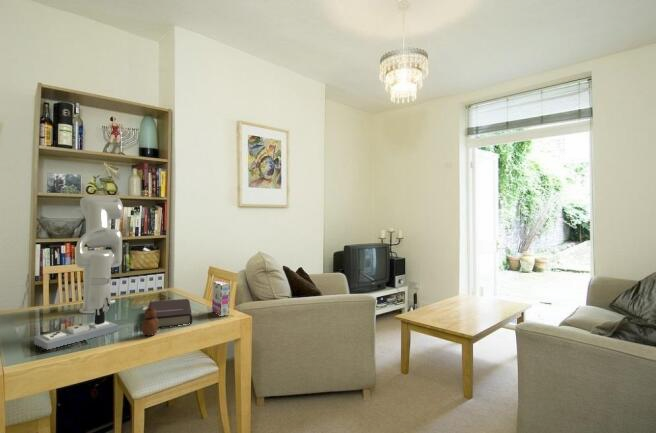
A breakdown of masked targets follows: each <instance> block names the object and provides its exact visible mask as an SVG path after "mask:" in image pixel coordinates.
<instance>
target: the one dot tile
mask: <svg viewBox="0 0 656 433" xmlns="http://www.w3.org/2000/svg"><path fill="white" fill-rule="evenodd" d="M91 323H92V322H91ZM107 325H110V323H108V322H104V323H101V324H95V323H92V324H89V326H90V327H93V328H99V327H103V326H107Z"/></svg>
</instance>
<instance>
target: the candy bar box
mask: <svg viewBox="0 0 656 433" xmlns="http://www.w3.org/2000/svg"><path fill="white" fill-rule="evenodd" d="M230 286H231V284H230V283H228V282H225V281H222V280H217V281H212V304H211V308H212V309H211V312H212V311H213V312H215V313H217V314H219V315H224V314H228V313H229V314H230V292H231V291H230V290H231V287H230ZM213 312H212V313H213ZM215 313H214V314H215Z"/></svg>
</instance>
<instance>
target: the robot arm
mask: <svg viewBox="0 0 656 433" xmlns="http://www.w3.org/2000/svg"><path fill="white" fill-rule="evenodd" d="M79 201H80V202H79V205H80V209H81V212H82V214H83V216H84V219H85V233H83V235H82V236H81V237H80V238H79V239H78V241H77V243H76V247H75V265H76V266H77V267H78V268H81V269H83V301H82V302H83V306H82V307H81V308H80V309H79V313H80V314H94V322H95V324H101V323H104V322H105V320H106V318H105V317H106V316H105V315H106V312H108V311H109V308H110V307H111V305H112V304H116V299H112V298H111V296H112V294H111V282H112V279H111V278H112V273H111V272H112V269H111V268H116V267H117V268H118V267H120V266H121V265H122V261H123V234H122V231H120V230H119V229H116V228H115V229H114V228H110V220H121V219H122V218H123V217H124V205H123V202H122V200H121V198H119V197H116V196H115V197H114V196H98V195H97V196H95V195H94V196H93V195H90V196H83V197H81V198H80V200H79ZM85 246H87V247H88V248H89V247H90V248H111V249H91V250H84V248H85Z"/></svg>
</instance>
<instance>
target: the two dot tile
mask: <svg viewBox="0 0 656 433" xmlns="http://www.w3.org/2000/svg"><path fill="white" fill-rule="evenodd" d="M86 324H87V323H78V324H75V325H71V326H70V325H69V326H67V328H68V330H67V332H69V333H71V334H76V333H80V332H84V331H88V330H89V326H88V325H86Z"/></svg>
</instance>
